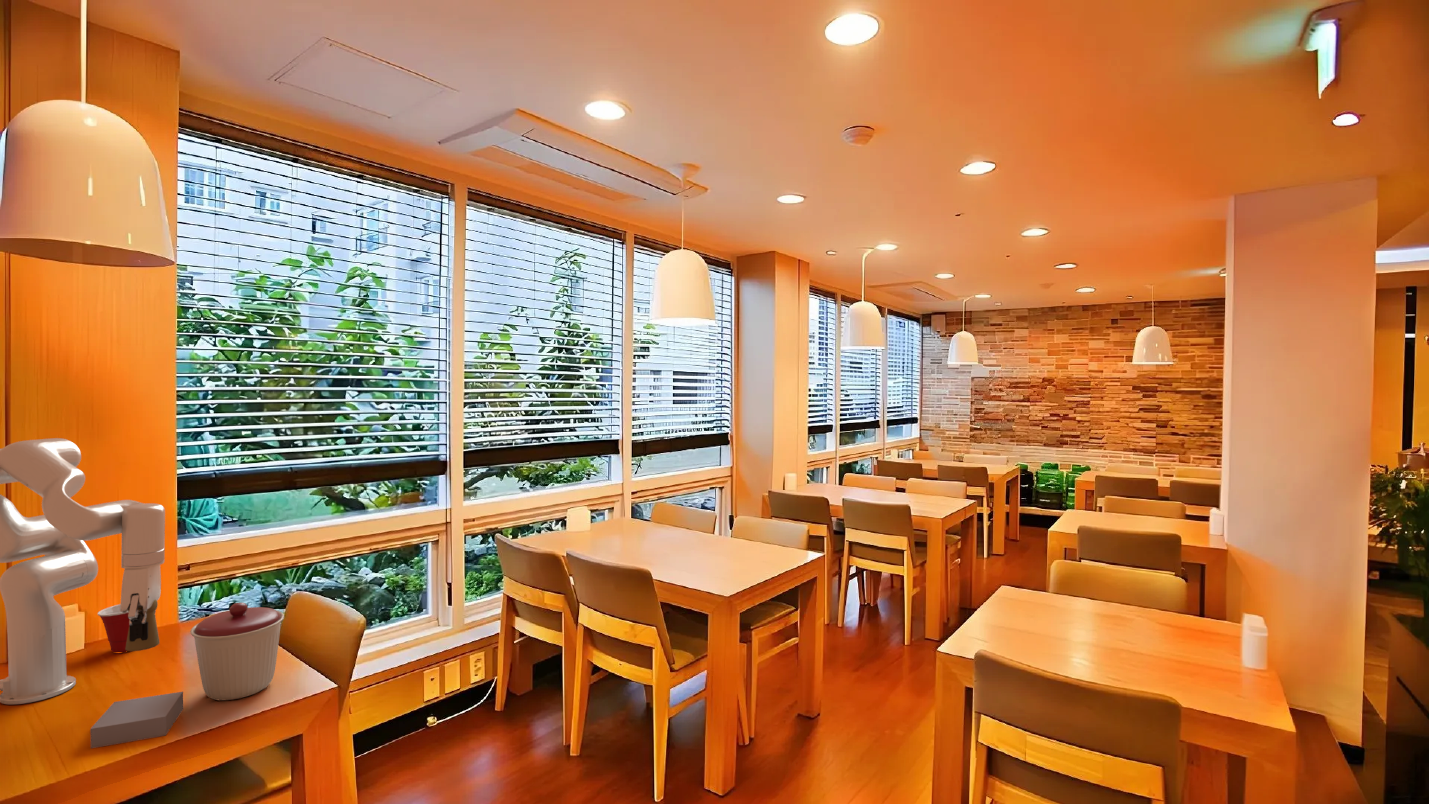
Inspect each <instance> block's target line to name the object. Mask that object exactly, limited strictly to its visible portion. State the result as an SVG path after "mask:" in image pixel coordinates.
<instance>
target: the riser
mask: <svg viewBox="0 0 1429 804" xmlns="http://www.w3.org/2000/svg"><path fill="white" fill-rule="evenodd" d="M183 710H184V691H177V692H172V693H171V692H170V693H165V694H158V695H153V696H151V695H150V696H146V697H138V698H131V699H126V700H119V701H118V700H117V701H114V702H113V703H112V704H111V705H110V706H109V707H108V709H107V710H106V711H105V712H104V713H103V714H102V715H101V716H100V717H99V718H98V719H97V720H96V722H95V723H94V724H93V725H92V726H91V728H90V749H95V748H100V747H105V746H106V747H107V746H112V745H118V744H123V743H129V742H136V741H141V740H146V739H147V740H148V739H153V738H158V737H164V736H166V735H167V734H168V733H169V732H170V730H171V728H172V727H173V725H174V724H175V723H176V721H177V719H178V718H179V716H180V715H181V713H182V712H183ZM173 723H174V724H173ZM169 729H170V730H169Z"/></svg>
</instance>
